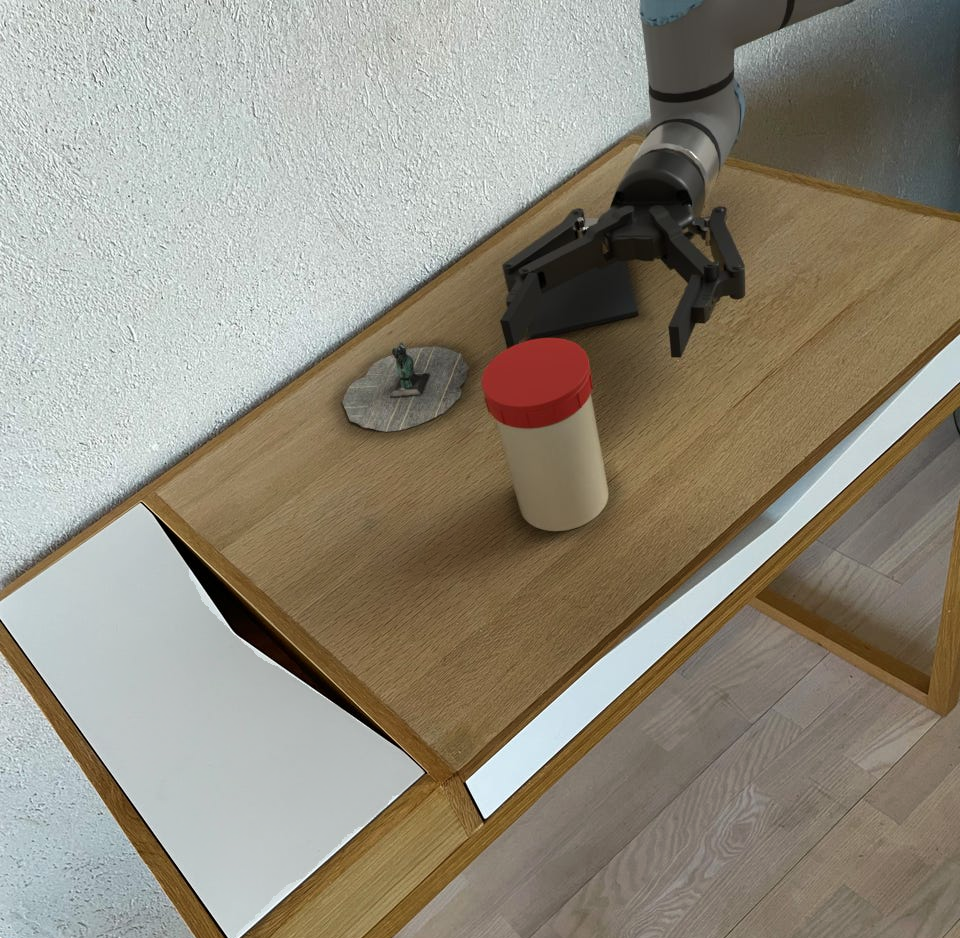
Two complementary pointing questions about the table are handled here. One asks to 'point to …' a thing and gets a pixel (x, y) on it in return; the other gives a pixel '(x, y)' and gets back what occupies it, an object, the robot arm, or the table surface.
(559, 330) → the mat
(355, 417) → the sculpture
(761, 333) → the table surface
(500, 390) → the lid
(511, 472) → the jar
